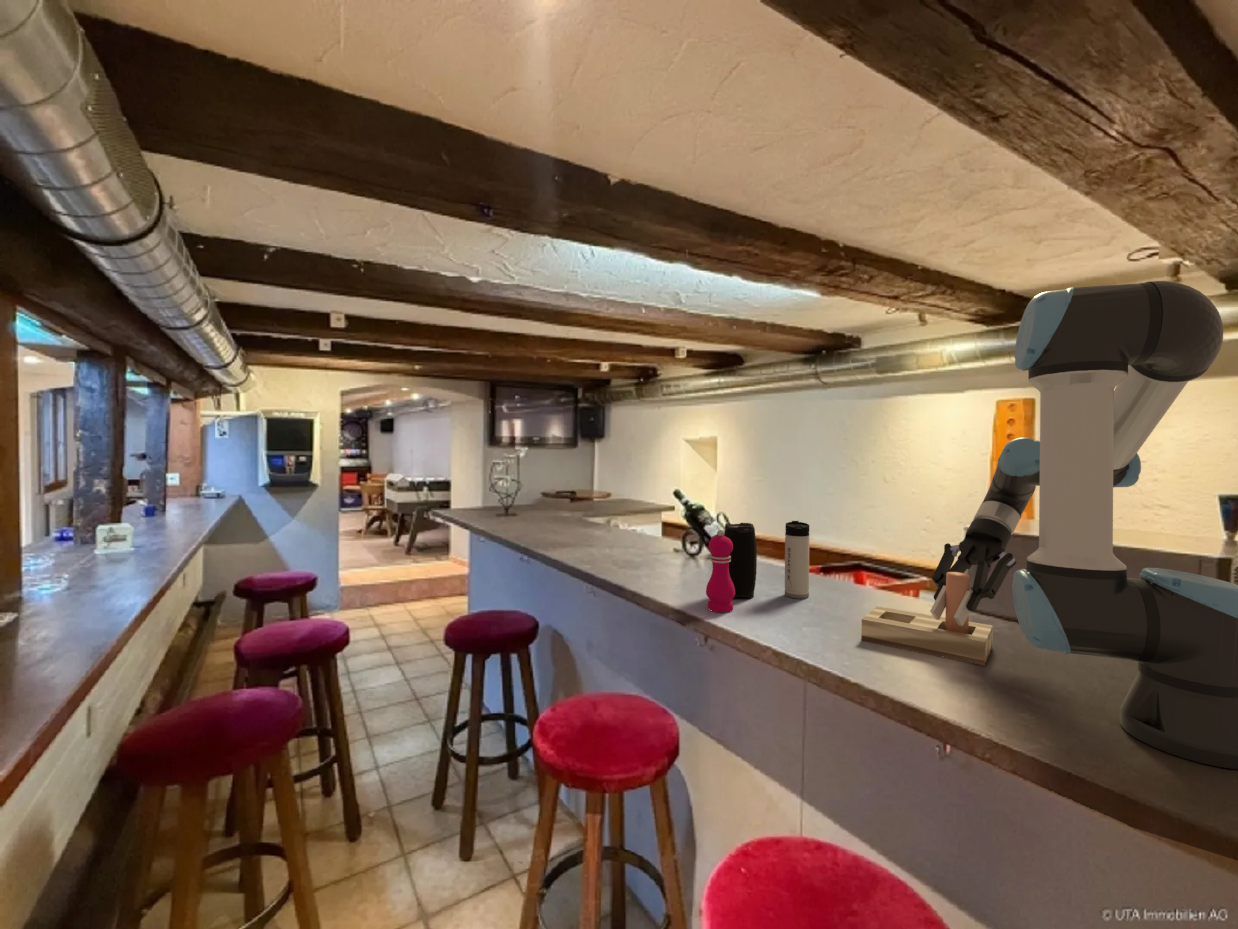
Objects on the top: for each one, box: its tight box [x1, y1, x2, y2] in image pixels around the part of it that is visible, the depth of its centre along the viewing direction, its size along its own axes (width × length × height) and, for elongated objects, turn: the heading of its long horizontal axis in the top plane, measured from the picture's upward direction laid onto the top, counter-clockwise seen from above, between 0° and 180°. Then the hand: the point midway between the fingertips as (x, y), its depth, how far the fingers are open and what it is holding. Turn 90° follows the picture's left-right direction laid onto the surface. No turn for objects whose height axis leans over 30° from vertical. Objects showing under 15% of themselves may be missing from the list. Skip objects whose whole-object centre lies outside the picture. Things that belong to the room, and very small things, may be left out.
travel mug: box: [784, 520, 810, 600], centre depth 154 cm, size 6×7×20 cm
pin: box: [945, 572, 971, 634], centre depth 114 cm, size 4×4×12 cm
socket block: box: [860, 605, 994, 666], centre depth 118 cm, size 12×22×4 cm, turn 51°
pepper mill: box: [705, 529, 735, 613], centre depth 142 cm, size 7×7×20 cm
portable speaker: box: [724, 522, 758, 600], centre depth 154 cm, size 9×9×20 cm
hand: (946, 618), depth 112 cm, fingers closed on pin, 4 cm apart
